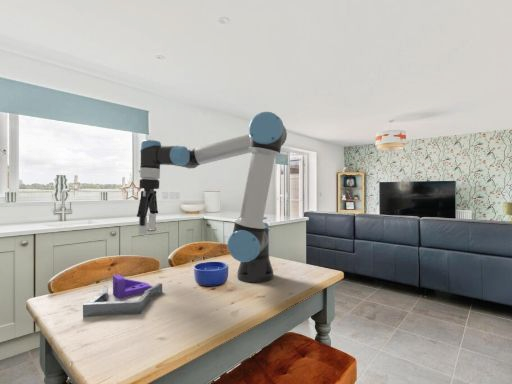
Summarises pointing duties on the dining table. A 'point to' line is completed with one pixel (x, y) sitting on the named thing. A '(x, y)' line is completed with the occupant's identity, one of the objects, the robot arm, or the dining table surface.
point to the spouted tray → (118, 304)
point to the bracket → (128, 287)
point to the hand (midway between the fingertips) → (147, 231)
